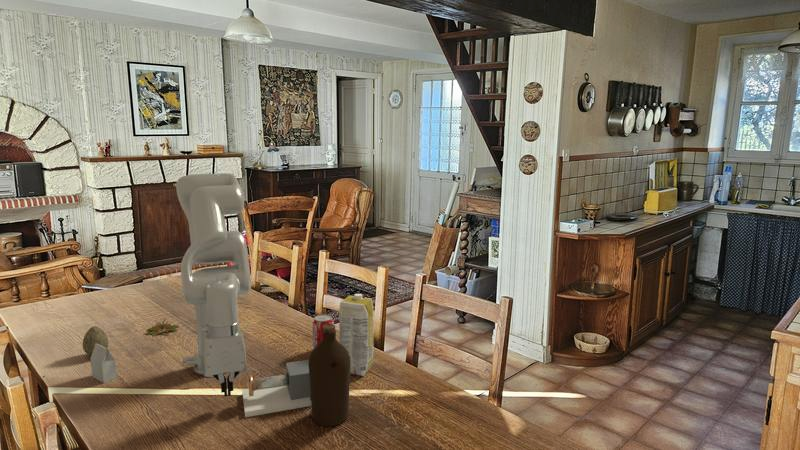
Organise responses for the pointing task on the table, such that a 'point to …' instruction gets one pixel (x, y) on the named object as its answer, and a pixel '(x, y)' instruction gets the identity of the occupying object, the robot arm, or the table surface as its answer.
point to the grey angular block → (102, 364)
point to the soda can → (320, 327)
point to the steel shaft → (267, 382)
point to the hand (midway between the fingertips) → (227, 393)
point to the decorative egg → (94, 339)
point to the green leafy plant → (161, 328)
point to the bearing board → (281, 393)
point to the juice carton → (357, 332)
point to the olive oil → (329, 380)
